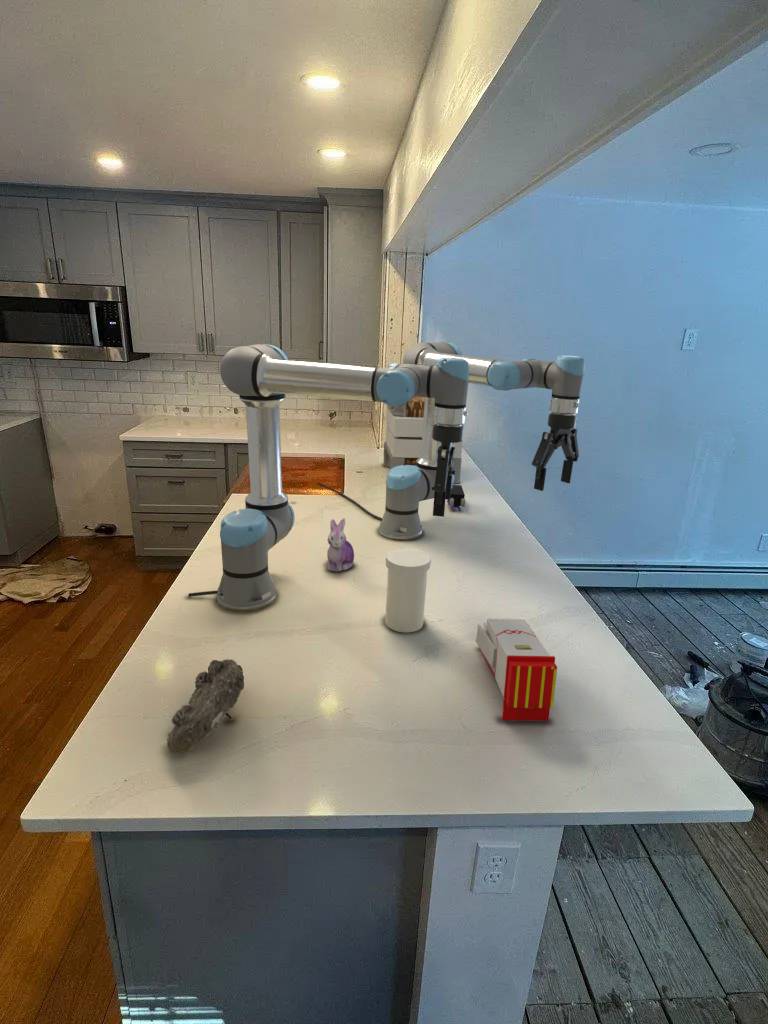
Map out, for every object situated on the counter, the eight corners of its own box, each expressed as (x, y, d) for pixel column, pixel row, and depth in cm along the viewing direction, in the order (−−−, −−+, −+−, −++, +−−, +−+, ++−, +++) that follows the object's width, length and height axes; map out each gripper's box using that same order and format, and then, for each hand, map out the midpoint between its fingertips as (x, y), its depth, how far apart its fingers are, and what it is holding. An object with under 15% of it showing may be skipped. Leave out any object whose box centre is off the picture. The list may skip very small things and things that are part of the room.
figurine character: (465, 515, 224) (460, 499, 237) (467, 498, 221) (462, 483, 234) (448, 515, 224) (444, 499, 237) (450, 498, 220) (445, 482, 234)
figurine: (332, 575, 167) (332, 527, 162) (319, 561, 175) (319, 516, 170) (361, 569, 171) (362, 523, 166) (347, 556, 179) (348, 512, 174)
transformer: (382, 463, 289) (386, 382, 275) (445, 464, 293) (451, 384, 279) (390, 482, 257) (394, 392, 243) (460, 483, 261) (468, 394, 247)
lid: (406, 579, 131) (407, 570, 130) (376, 563, 139) (376, 554, 138) (439, 567, 138) (440, 559, 137) (408, 552, 146) (409, 544, 145)
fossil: (192, 660, 117) (244, 628, 112) (224, 691, 120) (276, 661, 115) (142, 746, 98) (202, 712, 93) (182, 779, 101) (242, 748, 96)
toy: (523, 604, 135) (566, 662, 106) (518, 656, 138) (559, 727, 109) (472, 603, 135) (501, 661, 105) (468, 655, 138) (496, 726, 108)
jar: (403, 636, 137) (407, 570, 131) (377, 620, 144) (380, 556, 138) (431, 624, 143) (436, 560, 137) (405, 608, 150) (409, 547, 144)
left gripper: (459, 435, 125) (451, 525, 132) (468, 416, 148) (460, 494, 155) (425, 432, 126) (419, 521, 133) (439, 414, 149) (433, 491, 156)
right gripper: (548, 419, 148) (537, 496, 155) (598, 411, 163) (586, 482, 171) (525, 414, 153) (515, 489, 160) (575, 407, 169) (564, 476, 176)
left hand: (441, 507), depth 144 cm, fingers open, 13 cm apart
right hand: (552, 485), depth 166 cm, fingers open, 13 cm apart
